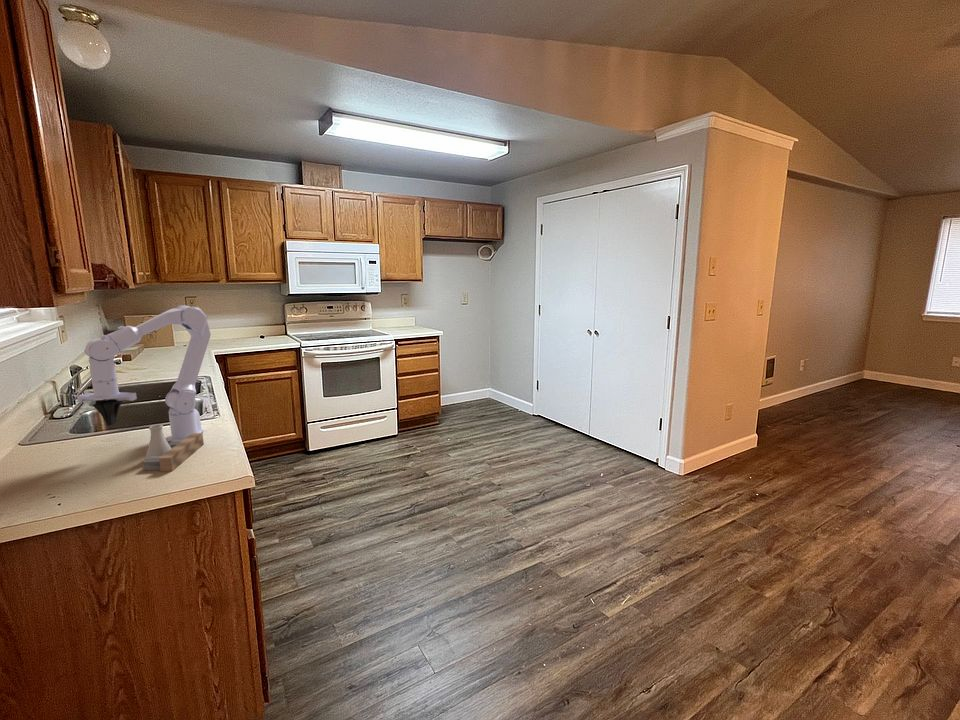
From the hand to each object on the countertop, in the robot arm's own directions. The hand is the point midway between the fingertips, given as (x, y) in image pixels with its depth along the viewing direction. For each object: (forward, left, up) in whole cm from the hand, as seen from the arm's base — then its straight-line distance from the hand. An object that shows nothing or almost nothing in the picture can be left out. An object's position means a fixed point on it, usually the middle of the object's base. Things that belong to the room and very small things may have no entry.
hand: (111, 424), depth 134 cm
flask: (+6, +15, -10) cm, 19 cm away
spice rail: (+6, +19, -9) cm, 22 cm away
